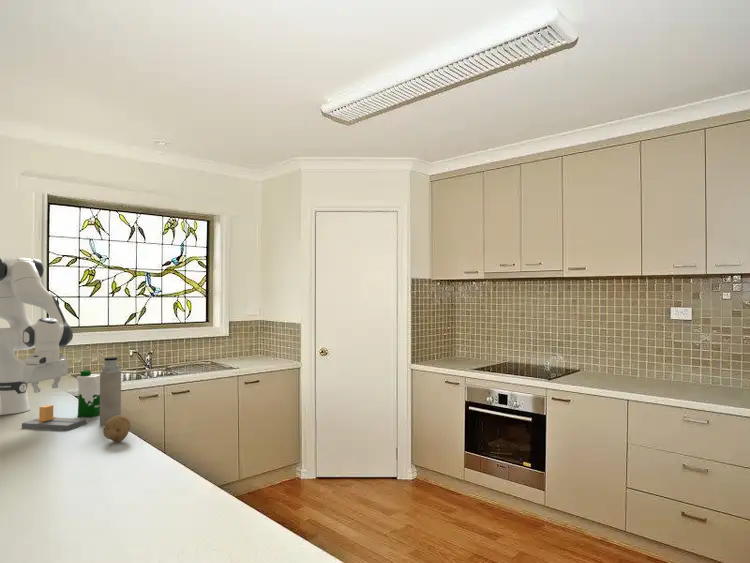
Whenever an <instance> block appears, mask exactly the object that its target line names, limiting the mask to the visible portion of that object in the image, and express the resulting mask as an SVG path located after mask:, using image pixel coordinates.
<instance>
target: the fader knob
mask: <svg viewBox="0 0 750 563" xmlns="http://www.w3.org/2000/svg"><path fill="white" fill-rule="evenodd" d="M38 411H39V413H38V414H39V416H38V418H39V419H37V418H36V419H37V421H48V420H52V419H55V417H56V416H54V404H53V405H52V404H46V405H41V406H39V410H38Z"/></svg>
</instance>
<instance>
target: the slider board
mask: <svg viewBox="0 0 750 563" xmlns="http://www.w3.org/2000/svg"><path fill="white" fill-rule="evenodd" d="M54 417H55V419H52V420H48V421H37V419H39V417H37V418H35V419H31V420H29V421H28V420H27V421H24V422H21V429H29V428H34V429H33V430H47V429H50V430H49V431H67V432H68V431H70V430H73V429H75V428H78V426H79V427H82V426H84V425H86V424H87V423H88V422H87V421H88V419H87V418H78V417H77V418H76V417H75V418H74V417H73V418H72V417H56V416H54ZM81 425H82V426H81Z"/></svg>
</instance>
